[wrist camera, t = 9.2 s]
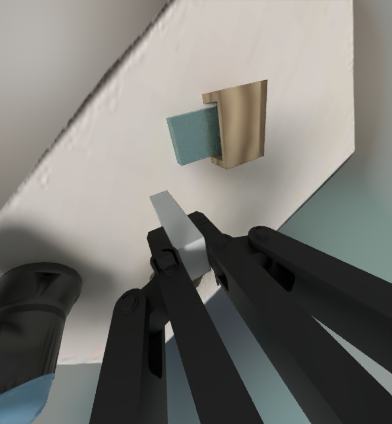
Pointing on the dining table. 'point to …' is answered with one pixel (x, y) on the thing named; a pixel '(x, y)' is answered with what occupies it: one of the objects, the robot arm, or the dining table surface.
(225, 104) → the overhang
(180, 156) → the teal tabbed plate
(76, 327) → the dining table surface
